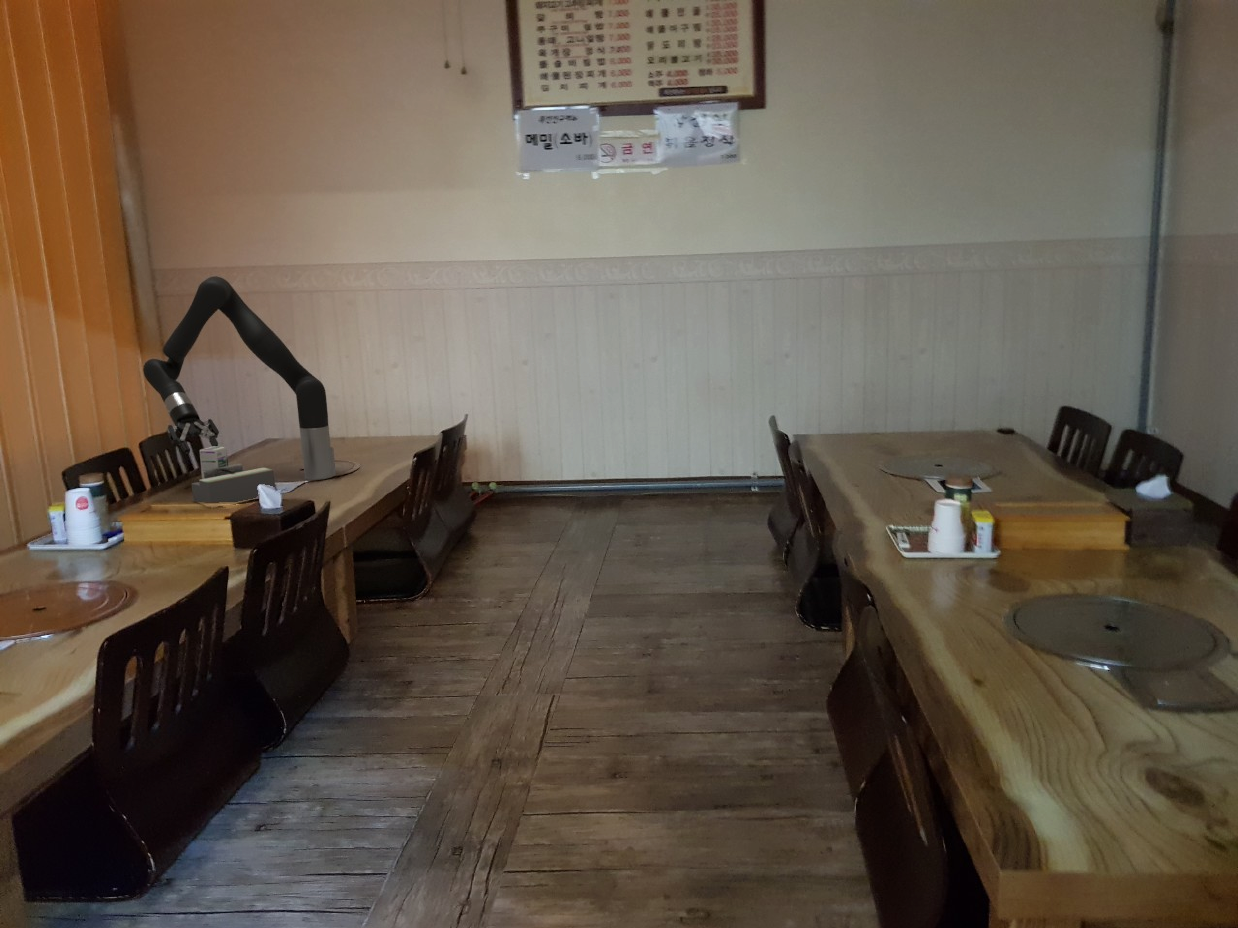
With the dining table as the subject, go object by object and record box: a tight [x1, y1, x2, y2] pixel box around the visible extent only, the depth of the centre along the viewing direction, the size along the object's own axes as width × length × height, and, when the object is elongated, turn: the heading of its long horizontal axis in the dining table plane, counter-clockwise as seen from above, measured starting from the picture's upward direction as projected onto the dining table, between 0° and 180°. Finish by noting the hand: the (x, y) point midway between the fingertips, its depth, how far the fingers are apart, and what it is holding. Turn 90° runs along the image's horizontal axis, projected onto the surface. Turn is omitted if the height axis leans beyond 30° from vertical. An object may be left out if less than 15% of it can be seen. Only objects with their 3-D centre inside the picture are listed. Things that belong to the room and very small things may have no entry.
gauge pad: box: [200, 462, 244, 479], centre depth 297 cm, size 12×8×8 cm
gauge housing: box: [191, 467, 276, 503], centre depth 295 cm, size 20×13×8 cm, turn 137°
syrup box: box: [199, 445, 229, 470], centre depth 302 cm, size 6×6×14 cm
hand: (202, 449), depth 305 cm, fingers open, 8 cm apart
